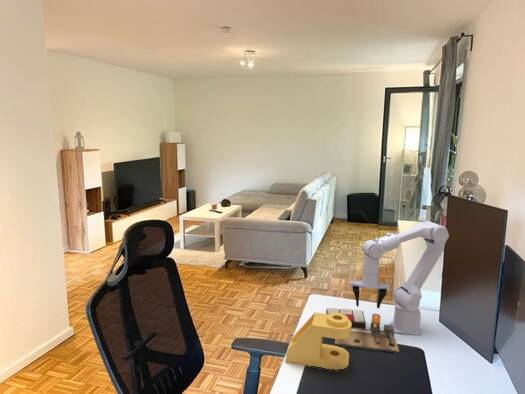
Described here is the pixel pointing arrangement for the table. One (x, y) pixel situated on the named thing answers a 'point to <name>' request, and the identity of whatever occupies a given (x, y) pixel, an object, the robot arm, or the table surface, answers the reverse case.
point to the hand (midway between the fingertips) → (367, 306)
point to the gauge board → (371, 339)
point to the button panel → (351, 316)
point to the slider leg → (375, 326)
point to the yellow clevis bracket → (320, 342)
